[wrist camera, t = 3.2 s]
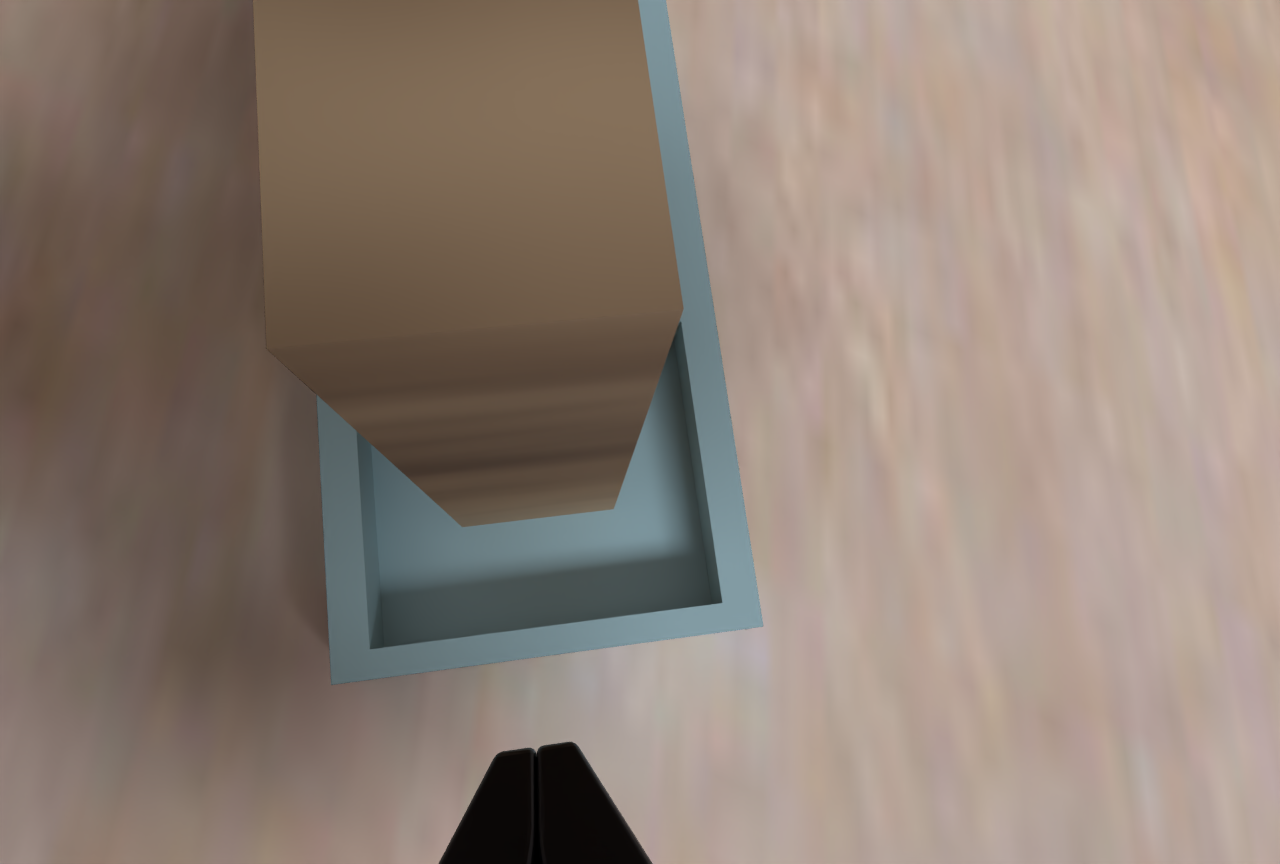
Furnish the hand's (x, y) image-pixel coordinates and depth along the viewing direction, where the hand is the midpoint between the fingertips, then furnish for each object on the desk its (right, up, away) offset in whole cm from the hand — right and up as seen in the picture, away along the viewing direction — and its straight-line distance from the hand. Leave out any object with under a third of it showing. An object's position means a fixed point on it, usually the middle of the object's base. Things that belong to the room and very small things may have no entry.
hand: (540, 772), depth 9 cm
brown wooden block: (-2, +6, +12) cm, 14 cm away
